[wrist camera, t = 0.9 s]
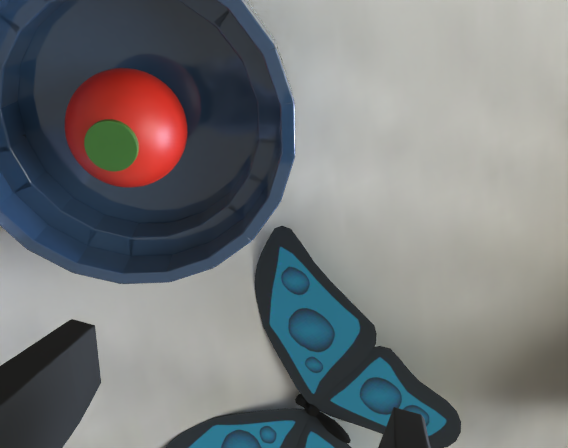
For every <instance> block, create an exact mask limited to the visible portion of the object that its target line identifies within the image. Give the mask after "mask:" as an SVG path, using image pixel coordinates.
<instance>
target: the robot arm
mask: <svg viewBox="0 0 568 448" xmlns="http://www.w3.org/2000/svg"><path fill="white" fill-rule="evenodd" d="M100 383H101V378H100V369H99V360H98V350H97V341H96V332H95V325H91V324H88V323H84V322H80V321H76V320H73V319H71V320H70V321H68V322H66V323H65V324H63V325H62V326H60V327H59V328H57V329H56V330H54V331H53V332H51V333H50V334H48V335H47V336H45V337H44V338H42V339H41V340H39V341H38V342H36V343H35V344H33V345H32V346H30V347H29V348H27V349H26V350H24V351H23V352H21V353H20V354H18V355H17V356H15V357H14V358H12V359H10V360H9V361H7V362H6V363H4V364H3V365H1V366H0V448H62V447H63V446H64V444H65V443H66V442H67V440H68V439H69V437H70V436H71V434H72V433H73V431H74V430H75V428H76V427H77V425H78V424H79V423H80V421H81V419H82V417H83V415H84V414H85V412H86V410H87V408H88V406H89V405H90V403H91V401H92V399H93V397H94V395H95V393H96V391H97V389H98V387H99V385H100ZM378 448H431V446H430V442H429V438H428V433H427V429H426V424H425V419H424V418H423V416H422V415H421V414H418V413H414V412H410V411H407V410H403V409H399V408H396V407H393V410H392V413H391V415H390V418H389V421H388V423H387V426H386V429H385V431H384V434H383V437H382V439H381V442H380V445H379V447H378Z"/></svg>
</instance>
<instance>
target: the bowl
mask: <svg viewBox="0 0 568 448" xmlns="http://www.w3.org/2000/svg"><path fill="white" fill-rule="evenodd" d="M115 68H131V69H137V70H140V71H143V72H146V73H149V74H151V75H153V76H155V77H156V78H158V79H160V80H161V81H162V82H164V83H165V84H166V85H167V86H168V87H169V88H170V89H171V90H172V91H173V92H174V94H175V95H176V96H177V98H178V99H179V101H180V103H181V105H182V107H183V110H184V113H185V116H186V121H187V131H188V133H187V141H186V145H185V149H184V152H183V154H182V156H181V158H180V160H179V162H178V163H177V164H176V165H175V167H174V168H173V169H172V170H171V171H170V172H169V173H168V174H167V175H166V176H164V177H163V178H161V179H159V180H158V181H156V182H154V183H151V184H148V185H145V186H140V187H131V188H129V187H118V186H114V185H110V184H107V183H105V182H102V181H100V180H98V179H97V178H95V177H93V176H92V175H91V174H89V173H88V172H87V171H86V170H84V169H83V167H82V166H81V165H80V164H79V163H78V162H77V160H76V159H75V158H74V156H73V154H72V152H71V151H70V148H69V146H68V143H67V139H66V135H65V114H66V110H67V106H68V104H69V102H70V99H71V97H72V96H73V94H74V93H75V91H76V90H77V89H78V87H79V86H80V85H81V84H82V83H84V82H85V81H86V80H87V79H89V78H90V77H92V76H93V75H95V74H97V73H100V72H102V71H105V70H110V69H115ZM294 158H295V103H294V98H293V94H292V90H291V86H290V83H289V80H288V77H287V74H286V71H285V68H284V65H283V62H282V59H281V56H280V53H279V50H278V47H277V44H276V42H275V39H274V38H273V36H272V35H271V33H270V32H269V31H268V29H267V28H266V26H265V25H264V24H263V22H262V21H261V20H260V18H259V17H258V15H257V14H256V13H255V11H254V10H253V9H252V7H251V6H250V4H249V3H248V2H247V0H0V226H1V227H2V228H3V229H5V230H6V231H7V232H8V233H9V234H10V235H11V236H12V237H14V238H15V239H16V240H17V241H18V242H19V243H20V244H21V245H23V246H24V247H25V248H26V249H27V250H29V251H31V252H33V253H35V254H37V255H39V256H41V257H43V258H45V259H47V260H49V261H51V262H53V263H55V264H56V265H58V266H60V267H62V268H64V269H66V270H68V271H70V272H72V273H75V274H80V275H84V276H88V277H93V278H97V279H101V280H106V281H110V282H115V283H119V284H137V283H164V282H172V281H175V280H178V279H182V278H185V277H188V276H191V275H194V274H197V273H200V272H203V271H206V270H209V269H212V268H214V267H216V266H217V265H219V264H220V263H222V262H223V261H225V260H226V259H227V258H229V257H230V256H232V255H233V254H234V253H236V252H237V251H239V250H240V249H241V248H243V247H244V246H246V245H247V244H248V243H250V242H251V241H252V240H253V239H254V238H255V236H256V235H257V234H258V232H259V231H260V230H261V228H262V227H263V226H264V224H265V223H266V222H267V220H268V219H269V217H270V216H271V215H272V213H273V212H274V211H275V209H276V208H277V207H278V205H279V204H280V202H281V199H282V196H283V193H284V190H285V187H286V184H287V180H288V177H289V174H290V171H291V168H292V165H293V162H294Z"/></svg>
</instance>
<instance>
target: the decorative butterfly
mask: <svg viewBox="0 0 568 448" xmlns="http://www.w3.org/2000/svg"><path fill="white" fill-rule="evenodd" d="M255 290H256V298H257V303H258V307H259V312H260V315H261V319H262V323H263V327H264V329H265V331H266V333H267V335H268V337H269V339H270V341H271V343H272V345H273V347H274V349H275V351H276V352H277V354H278V356H279V358H280V360H281V361H282V363H283V365H284V367H285V368H286V370H287V372H288V373H289V375H290V377H291V379H292V381H293V382H294V384H295V386H296V388H297V389H298V391H299V392H300V393H301V394H299V395H298V396H297V398H296V399H295V400H296V403H297V404H298V405H300V406H302V407H304V408H305V409H277V410H268V411H259V412H249V413H240V414H233V415H227V416H222V417H216V418H213V419H210V420H208V421H206V422H203V423H201V424H199V425H197V426H194V427H192V428H190V429H188V430H186V431H185V432H183V433H181V434H180V435H178V436H177V437H176V438H174V439H173V440H172V441H171V442H170V443H169V444H168V445H167V446H166V448H351V447H350V446H349V445H348V444H347V443H350V441H351V440H350V438H349V435H348V434H347V433H346V432H345V430H344V429H343V428H342V427H341V426H340V425H339V424H338V423H337V422H336V421H335V420H333V419H331V418H330V417H328V416H326V415H325V414H323V413H326V414H328V415H330V416H332V417H335V418H338V419H341V420H344V421H347V422H350V423H353V424H356V425H359V426H362V427H365V428H368V429H371V430H373V431H376V432H379V433H382V434H384V431H385V429H386V426H387V423H388V421H389V418H390V415H391V413H392V410H393V407H396V408H399V409H403V410H407V411H410V412H414V413H418V414H421V415H422V416H423V418H424V419H425V424H426V429H427V433H428V438H429V442H430V446H431V448H444V447H448V446H450V445H451V444H453V443H454V442H455V441H456V440H457V438H458V436H459V434H460V432H461V421H460V418H459V416H458V413H457V411H456V410H455V409H454V408H453V407H452V406H451V405H450V404H449V403H448V401H446V400H445V399H443V398H442V397H441V396H439V395H438V394H436V393H435V392H434V391H432V390H431V389H430V388H428V387H427V386H425V385H424V384H423V383H421V382H420V381H419V380H418V379H417V378H416V377H415V376H414V375H413V374H412V373H411V372H410V371H409V370H408V369H407V367H406V366H405V365H404V364H403V362H402V361H401V360H400V359H399V357H398V356H397V355H396V354H395V353H394V352H393V351H392V350H391V349H389V348H385V347H382V346H378V347H374V346H375V344H376V331H375V327H374V325H373V324H372V323H371V322H370V321H369V320H368V319H367V318H366V317H365V316H364V315H363V314H362V313H361V312H360V311H359V310H358V309H357V308H356V307H355V306H354V305H353V304H352V303H351V302H350V301H349V300H348V299H347V298H346V296H345V295H344V294H343V293H342V292H341V291H340V290H339V289H338V288H337V287H336V286H335V285H334V284H333V283H332V282H331V281H330V280H329V279H328V278H327V277H326V275H325V274H324V273H323V272H322V271H321V270H320V268H319V267H318V266H317V265H316V264H315V263H314V261H313V260H312V258H311V257H310V255H309V254H308V252H307V251H306V249H305V248H304V246H303V245H302V244H301V242H300V241H299V239H298V238H297V237H296V235H295V234H294V233H293V231H292V230H291V229H290V228H287V227H284V226H280V227H278V228H275V229H274V231H273V232H272V234H271V236H270V238H269V239H268V241H267V243H266V245H265V247H264V249H263V251H262V253H261V256H260V259H259V261H258V264H257V269H256V274H255ZM320 411H321V412H323V413H321V412H320Z"/></svg>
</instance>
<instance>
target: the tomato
mask: <svg viewBox="0 0 568 448" xmlns="http://www.w3.org/2000/svg"><path fill="white" fill-rule="evenodd" d="M187 133H188V131H187V121H186V116H185V113H184V110H183V107H182V105H181V103H180V101H179V99H178V98H177V96H176V95H175V94H174V92H173V91H172V90H171V89H170V88H169V87H168V86H167V85H166V84H165V83H164V82H162V81H161V80H160V79H158V78H156V77H155V76H153V75H151V74H149V73H146V72H143V71H140V70H137V69H131V68H115V69H110V70H105V71H102V72H100V73H97V74H95V75H93V76H92V77H90V78H89V79H87V80H86V81H85V82H84V83H82V84H81V85H80V86H79V87H78V89H77V90H76V91H75V93H74V94H73V96H72V97H71V99H70V102H69V104H68V106H67V110H66V114H65V135H66V139H67V143H68V146H69V148H70V151H71V152H72V154H73V156H74V158H75V159H76V160H77V162H78V163H79V164H80V165H81V166H82V167H83V169H84V170H86V171H87V172H88V173H89V174H91V175H92V176H93V177H95V178H97V179H98V180H100V181H102V182H105V183H107V184H110V185H114V186H118V187H129V188H131V187H140V186H145V185H148V184H151V183H154V182H156V181H158V180H159V179H161V178H163V177H164V176H166V175H167V174H168V173H169V172H170V171H171V170H172V169H173V168H174V167H175V165H176V164H177V163H178V162H179V160H180V158H181V156H182V154H183V152H184V149H185V145H186V141H187Z"/></svg>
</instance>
